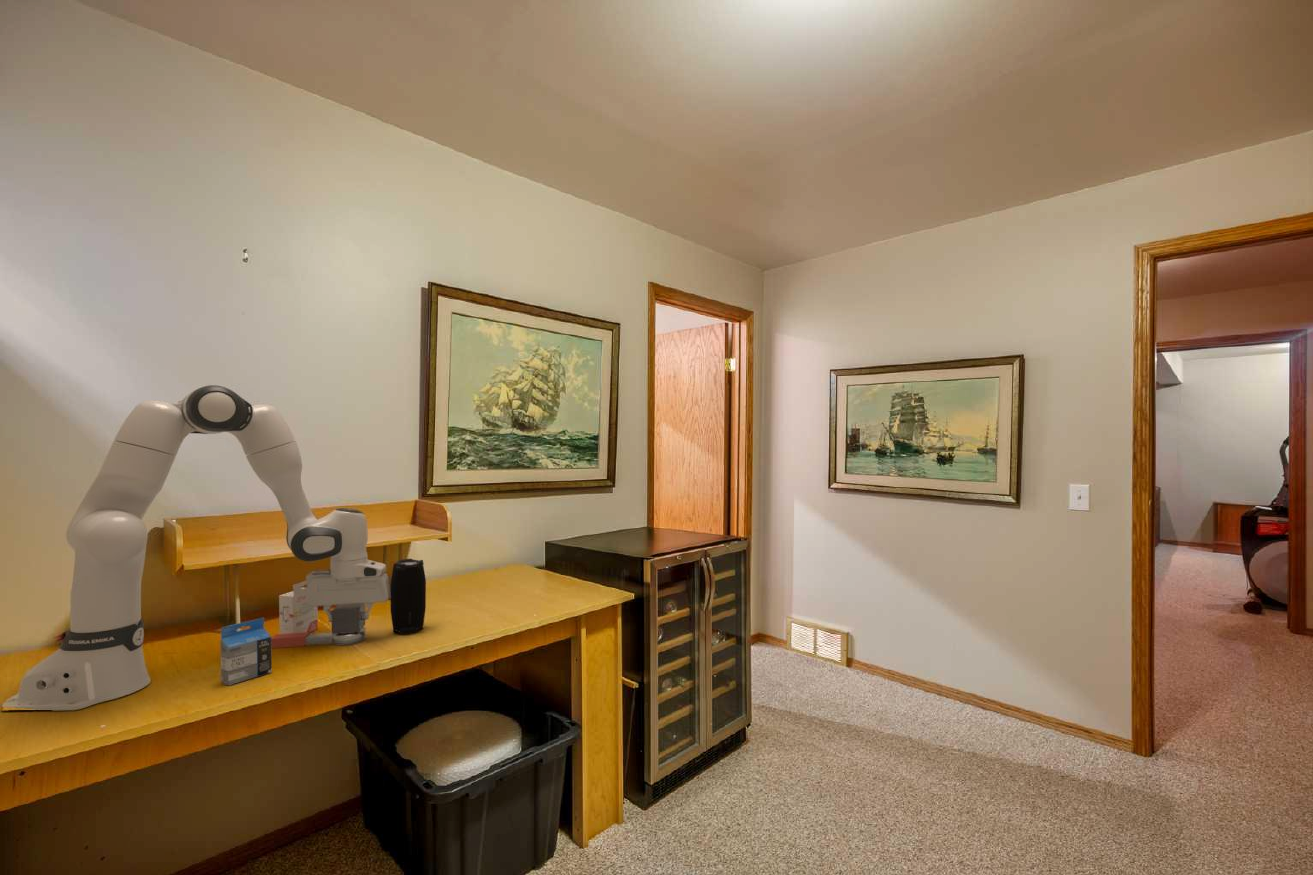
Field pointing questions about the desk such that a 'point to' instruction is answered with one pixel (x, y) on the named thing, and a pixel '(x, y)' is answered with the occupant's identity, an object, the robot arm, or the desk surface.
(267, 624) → the desk surface
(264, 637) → the label tape box
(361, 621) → the dark grey block
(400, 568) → the portable speaker
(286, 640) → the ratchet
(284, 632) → the ink cartridge box
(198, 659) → the desk surface
